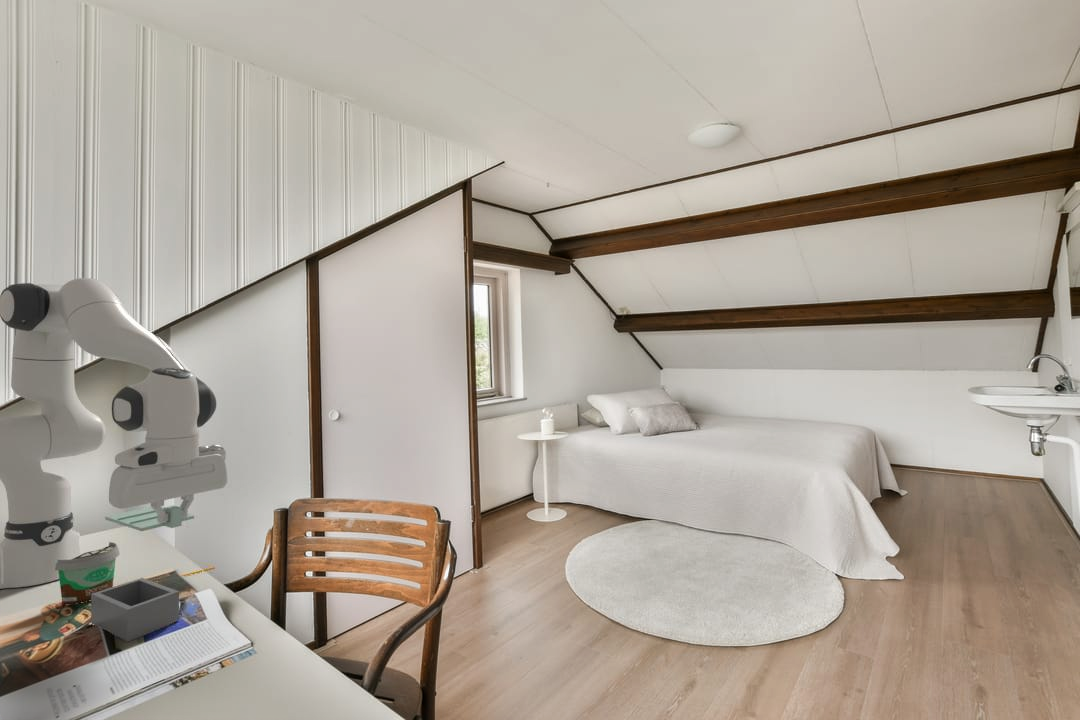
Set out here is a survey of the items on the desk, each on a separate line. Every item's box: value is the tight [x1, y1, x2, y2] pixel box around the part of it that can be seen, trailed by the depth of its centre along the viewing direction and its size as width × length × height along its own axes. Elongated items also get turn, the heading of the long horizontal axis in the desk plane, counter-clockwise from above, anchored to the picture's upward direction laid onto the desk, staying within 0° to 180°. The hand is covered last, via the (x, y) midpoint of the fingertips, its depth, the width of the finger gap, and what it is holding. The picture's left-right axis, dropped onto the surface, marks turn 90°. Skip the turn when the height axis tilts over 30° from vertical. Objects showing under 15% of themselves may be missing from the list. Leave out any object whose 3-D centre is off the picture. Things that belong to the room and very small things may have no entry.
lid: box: [104, 505, 195, 532], centre depth 111 cm, size 17×10×4 cm, turn 61°
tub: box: [90, 577, 180, 642], centre depth 108 cm, size 14×9×6 cm, turn 62°
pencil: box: [181, 566, 215, 577], centre depth 129 cm, size 1×18×1 cm, turn 139°
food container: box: [55, 541, 120, 605], centre depth 120 cm, size 12×6×10 cm, turn 168°
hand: (172, 520), depth 107 cm, fingers closed on lid, 2 cm apart
